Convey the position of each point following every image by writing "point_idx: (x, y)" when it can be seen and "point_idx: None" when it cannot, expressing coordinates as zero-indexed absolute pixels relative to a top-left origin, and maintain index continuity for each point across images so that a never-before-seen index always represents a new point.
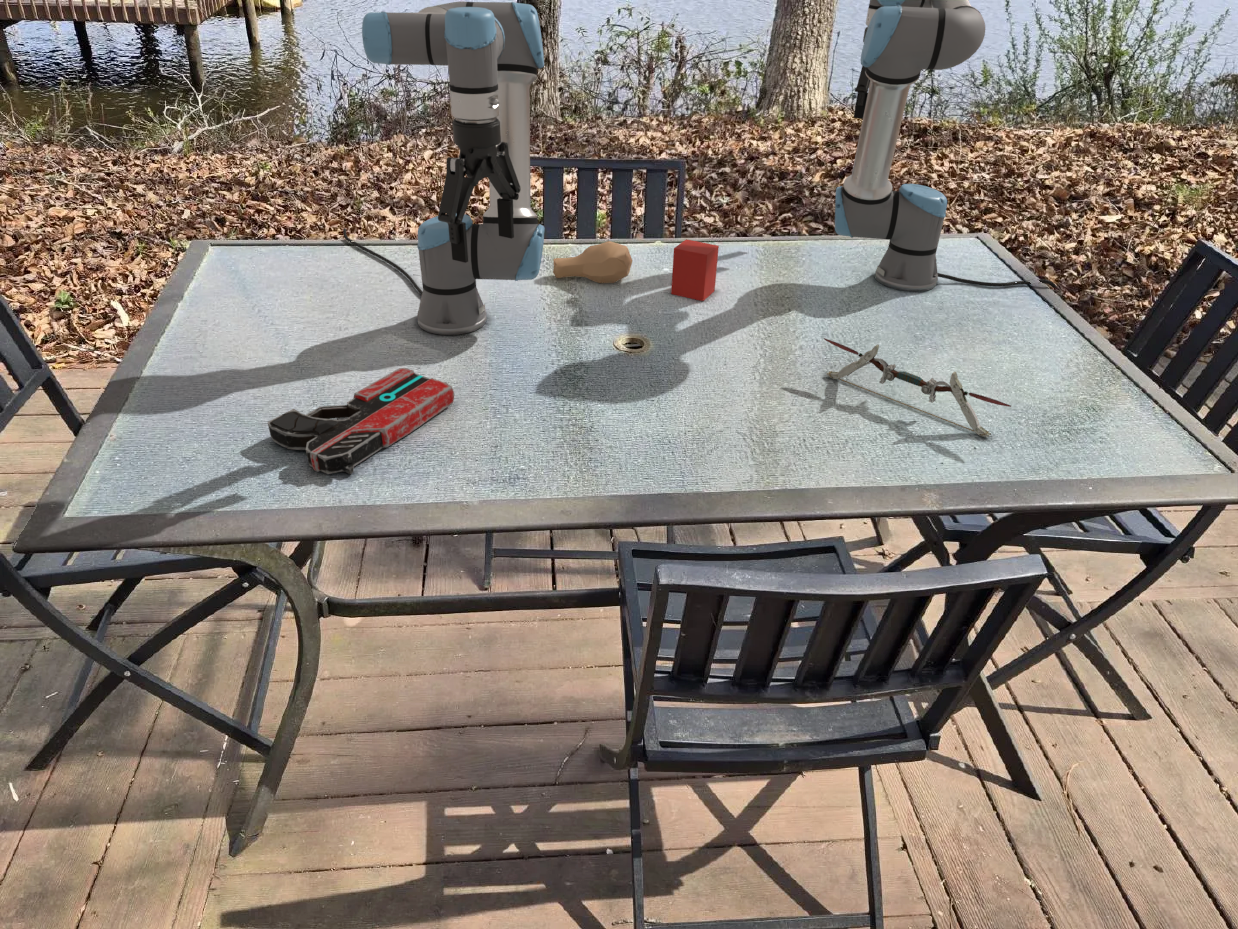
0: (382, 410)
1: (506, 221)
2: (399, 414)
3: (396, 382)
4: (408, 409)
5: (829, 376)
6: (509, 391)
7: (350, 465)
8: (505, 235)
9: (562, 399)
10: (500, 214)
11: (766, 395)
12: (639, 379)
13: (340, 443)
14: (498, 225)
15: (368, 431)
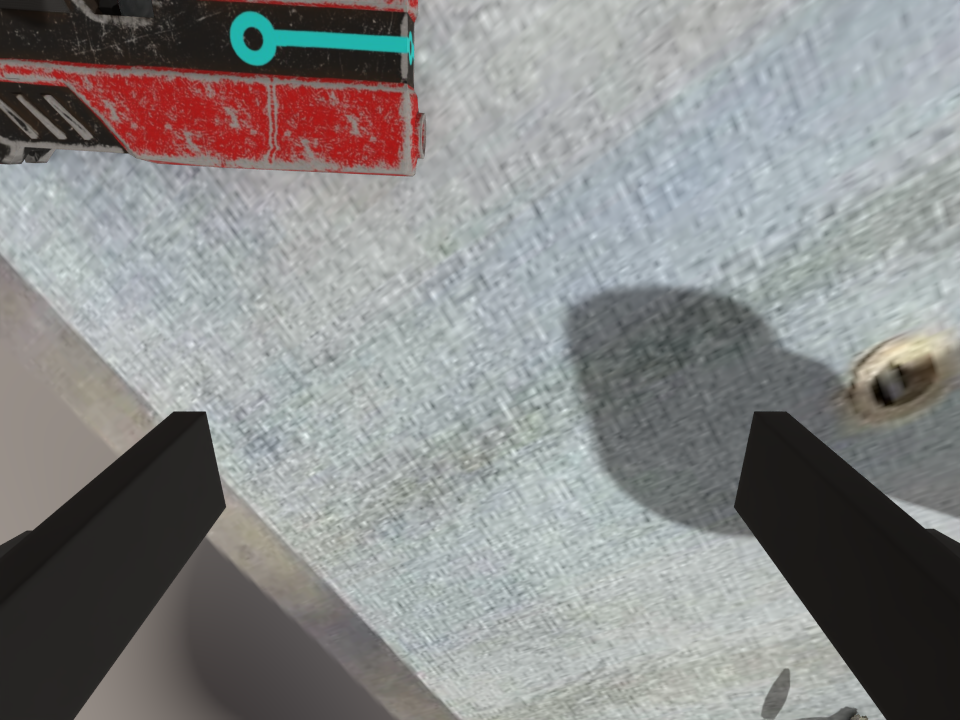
0: (185, 89)
1: (806, 561)
2: (206, 145)
3: (324, 4)
4: (239, 149)
5: (853, 717)
6: (546, 249)
7: (36, 151)
8: (748, 470)
9: (570, 373)
10: (858, 547)
11: (748, 659)
12: (724, 465)
13: (17, 97)
14: (799, 453)
15: (103, 123)
